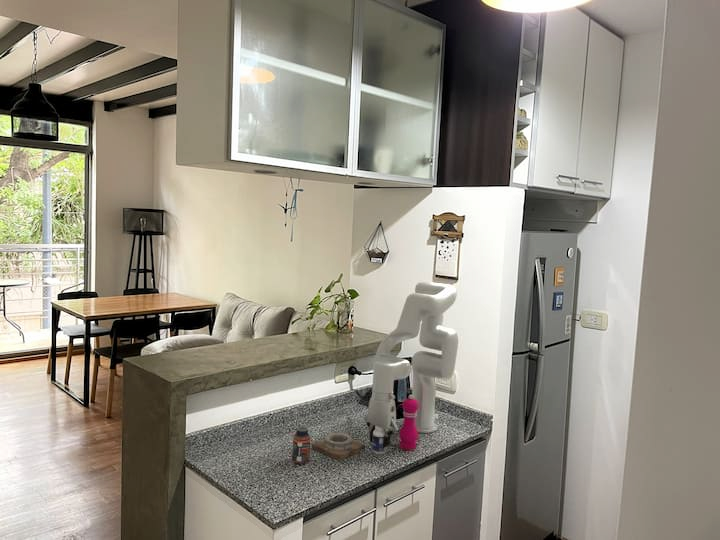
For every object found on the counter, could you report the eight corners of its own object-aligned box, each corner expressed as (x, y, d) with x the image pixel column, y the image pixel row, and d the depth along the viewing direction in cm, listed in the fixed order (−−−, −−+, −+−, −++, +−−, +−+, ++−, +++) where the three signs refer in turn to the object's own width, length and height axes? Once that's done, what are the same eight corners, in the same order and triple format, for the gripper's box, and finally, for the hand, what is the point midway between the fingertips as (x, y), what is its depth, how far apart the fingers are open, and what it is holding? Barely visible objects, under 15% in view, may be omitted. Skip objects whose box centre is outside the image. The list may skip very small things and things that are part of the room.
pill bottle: (369, 449, 195) (370, 423, 194) (382, 447, 197) (384, 421, 196) (375, 455, 190) (377, 428, 189) (389, 453, 192) (390, 427, 191)
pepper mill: (416, 451, 194) (419, 398, 193) (396, 449, 196) (400, 396, 194) (418, 444, 202) (421, 392, 200) (399, 441, 203) (402, 390, 201)
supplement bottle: (302, 466, 178) (303, 433, 177) (288, 461, 181) (289, 429, 180) (312, 460, 183) (314, 428, 182) (299, 455, 187) (300, 424, 186)
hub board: (337, 437, 204) (337, 427, 204) (365, 448, 195) (365, 438, 195) (311, 447, 193) (311, 437, 193) (339, 460, 184) (340, 449, 184)
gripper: (407, 398, 189) (404, 448, 191) (370, 387, 200) (367, 434, 202) (395, 403, 183) (392, 454, 185) (357, 391, 194) (355, 439, 196)
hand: (379, 443), depth 193 cm, fingers closed on pill bottle, 5 cm apart
